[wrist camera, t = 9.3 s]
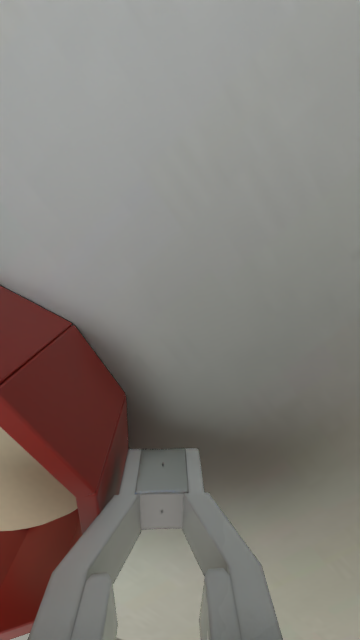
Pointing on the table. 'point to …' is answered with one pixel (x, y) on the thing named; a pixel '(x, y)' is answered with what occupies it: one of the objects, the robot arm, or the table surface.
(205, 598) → the robot arm
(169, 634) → the table surface
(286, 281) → the table surface
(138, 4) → the table surface
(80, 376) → the pan
